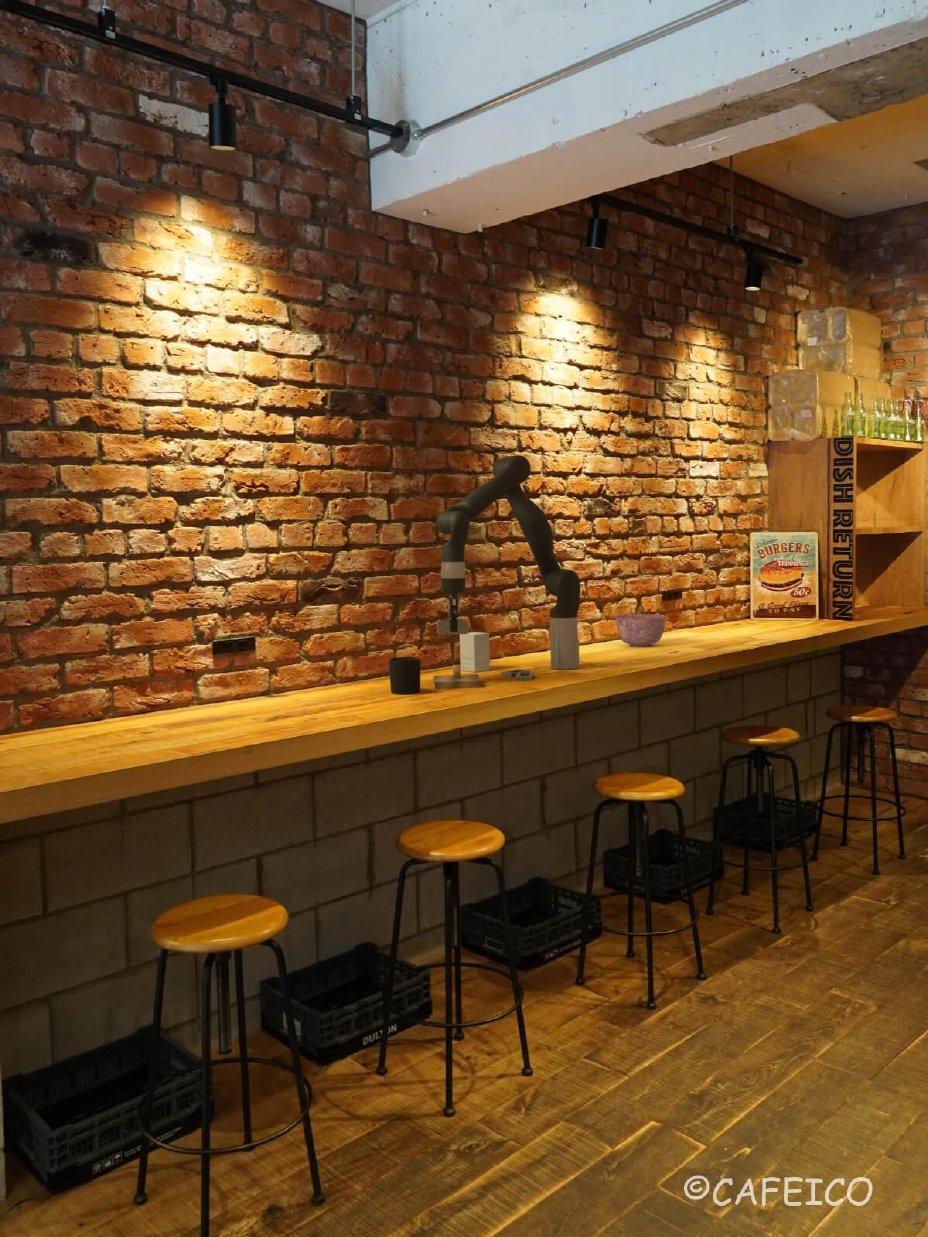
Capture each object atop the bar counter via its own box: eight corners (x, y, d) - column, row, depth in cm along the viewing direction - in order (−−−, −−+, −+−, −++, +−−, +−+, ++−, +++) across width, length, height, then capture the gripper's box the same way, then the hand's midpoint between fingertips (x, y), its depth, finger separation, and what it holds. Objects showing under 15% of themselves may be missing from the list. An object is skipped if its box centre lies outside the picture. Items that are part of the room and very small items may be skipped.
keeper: (477, 680, 329) (477, 661, 329) (481, 687, 315) (481, 667, 315) (433, 682, 328) (433, 663, 328) (435, 688, 315) (434, 669, 314)
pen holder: (427, 691, 311) (426, 657, 310) (408, 695, 303) (407, 661, 303) (402, 688, 316) (401, 656, 316) (383, 693, 309) (382, 659, 308)
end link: (466, 632, 325) (465, 619, 325) (467, 634, 319) (467, 621, 319) (437, 632, 325) (437, 620, 324) (438, 634, 319) (438, 621, 318)
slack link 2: (518, 676, 336) (518, 672, 336) (534, 676, 335) (534, 672, 335) (515, 680, 328) (515, 676, 328) (530, 680, 327) (530, 676, 327)
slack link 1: (519, 672, 344) (519, 669, 343) (529, 674, 340) (529, 670, 340) (501, 675, 339) (501, 671, 338) (511, 677, 335) (511, 673, 335)
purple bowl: (611, 648, 402) (610, 618, 401) (619, 642, 421) (618, 614, 420) (663, 649, 396) (663, 619, 395) (669, 643, 415) (669, 614, 414)
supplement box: (490, 670, 352) (490, 632, 351) (474, 672, 347) (473, 634, 346) (476, 668, 357) (475, 631, 356) (459, 670, 353) (458, 633, 351)
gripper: (466, 577, 314) (466, 633, 315) (464, 575, 328) (464, 628, 329) (441, 577, 313) (441, 633, 315) (440, 575, 328) (440, 629, 329)
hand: (453, 630), depth 322 cm, fingers closed on end link, 6 cm apart
